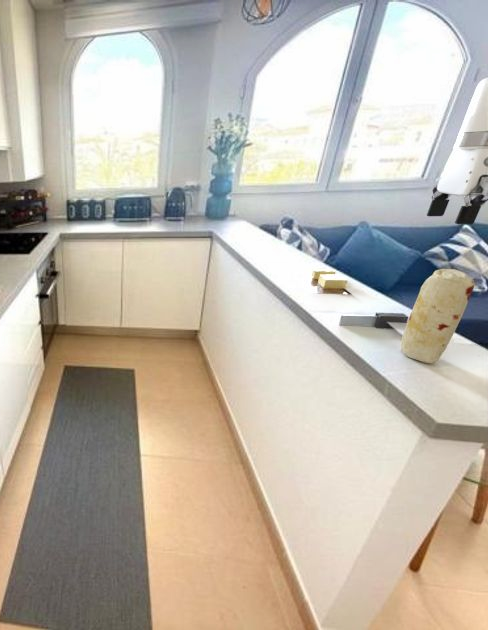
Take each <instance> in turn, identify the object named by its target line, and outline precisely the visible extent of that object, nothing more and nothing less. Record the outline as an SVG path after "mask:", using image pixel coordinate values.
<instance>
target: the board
mask: <svg viewBox="0 0 488 630" xmlns="http://www.w3.org/2000/svg"><path fill="white" fill-rule="evenodd" d="M291 278H292V279H293V280H294V281H295V282H296V283H297V284H298V285H299V286H300V287H301V288H302V289H303V290H304V291H305V292H306V294H321V295H322V294H324V295H325V294H326V295H352V293H351V292H350V291H349V290H347V289H346V288H345V289H332V288H323V287H322V286H321V285H319V284H318V280H319V279H313V278H312V276H302V275H301V276H299V275H297V276H295V275H294V276H293V275H291Z"/></svg>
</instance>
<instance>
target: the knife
mask: <svg viewBox="0 0 488 630" xmlns="http://www.w3.org/2000/svg"><path fill="white" fill-rule="evenodd" d="M408 320H409V316H408V315H407V314H405V313H403V312H402V313H399V312H397V313H396V312H375V314H374V315H367V314H366V315H362V314H341V316H340V319H339V323H338V325H339V326H351V327H357V326H358V327H374V328H375V329H384V328H386V329H388V330H395V327H393V326H392V325H391V324H389V323H398V324H399V323H401V324H402V323H403V324H407V323H408ZM386 329H385V330H386Z"/></svg>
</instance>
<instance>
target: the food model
mask: <svg viewBox="0 0 488 630" xmlns="http://www.w3.org/2000/svg"><path fill="white" fill-rule="evenodd" d="M475 286H476V283H475V280H474V279H473V278H472V277H470V276H469V275H468V274H466V272H463V271H460V270H459V269H455V268H439V269H437V270H434V272H433V273H432V275H430V276H429V277H428V278H426V279H425V281H424V282H423V284H422V285H421V287H420V290H419V293H418V295H417V298H416V300H415V302H414V305H413V307H412V309H411V310H412V311H411V312H410V315H409V316H408V320H407V322H406V326H405V328H404V331H403V333H402V337H401V341H400V344H399V345H400V351H401V353H402V354H403V355H404V356H405V357H407V358H410V359H413V360H417V361H420V362H422V363H425V364H433V363H437V362H438V361H439V359H440V358H441V357H442V355H443V354H444V352H445V350H446V349H447V347H448V345H449V343H450V342H451V340H452V338H453V336H454V334H455V332H456V330H457V328H458V325H459V323H460V322H461V320H462V317H463V315H464V313H465V310H466V308H467V306H468V303H469V300H470V298H471V295H472V293H473V291H474V289H475Z"/></svg>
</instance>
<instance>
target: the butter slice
mask: <svg viewBox="0 0 488 630" xmlns="http://www.w3.org/2000/svg"><path fill="white" fill-rule="evenodd" d="M320 275H336V270H334V269H330V268H329V269H324V268H323V269H320V268H319V269H317V268H313V270H312V274H311V277H312V278H313V279H319V276H320Z"/></svg>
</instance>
